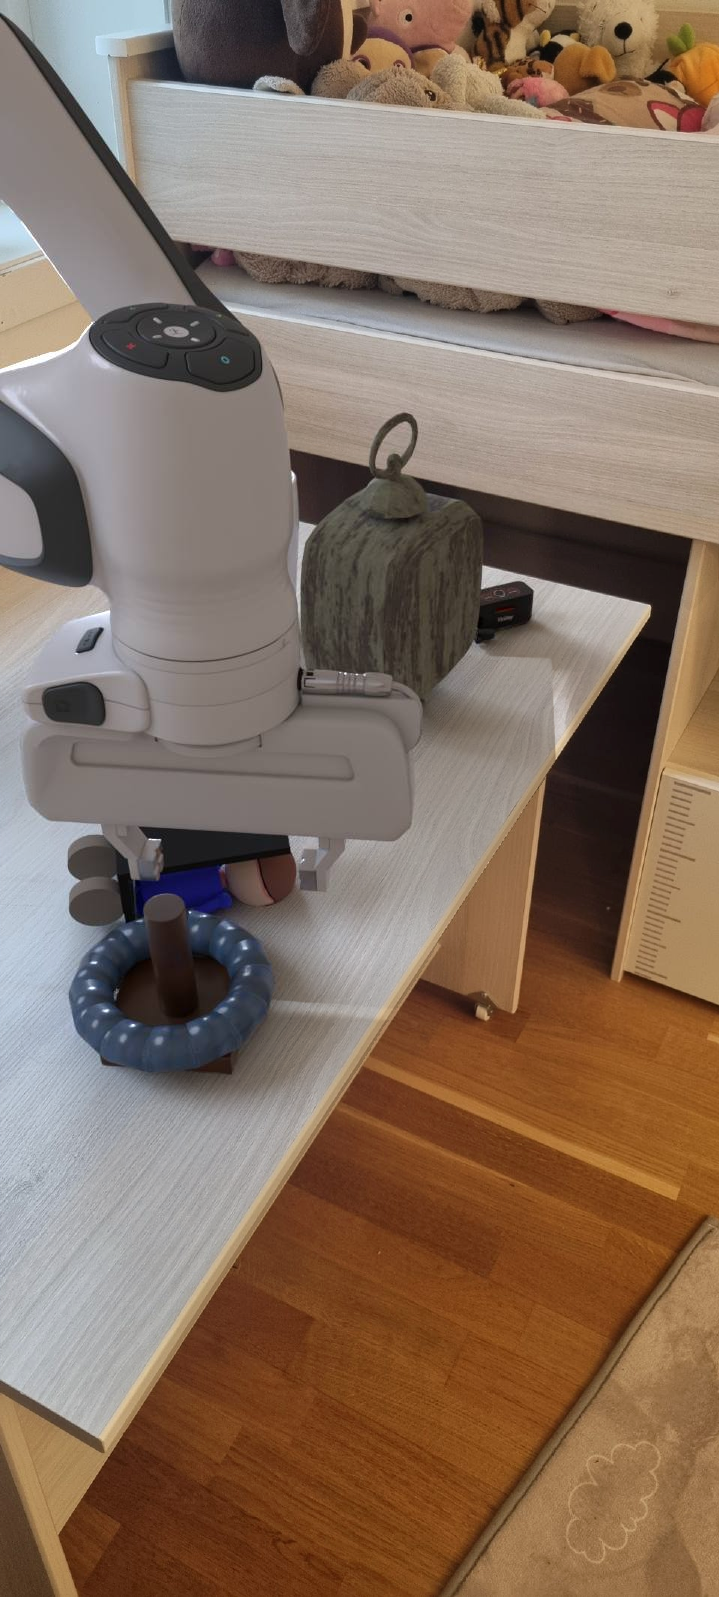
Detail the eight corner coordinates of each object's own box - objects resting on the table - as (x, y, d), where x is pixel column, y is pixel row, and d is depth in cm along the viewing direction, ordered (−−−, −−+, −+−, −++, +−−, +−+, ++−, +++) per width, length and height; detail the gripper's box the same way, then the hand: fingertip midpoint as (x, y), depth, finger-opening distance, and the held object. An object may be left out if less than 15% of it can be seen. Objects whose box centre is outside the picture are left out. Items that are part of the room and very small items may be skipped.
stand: (101, 1065, 72) (76, 952, 66) (134, 968, 78) (114, 857, 72) (232, 1075, 71) (219, 962, 65) (256, 976, 77) (245, 865, 71)
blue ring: (46, 1073, 69) (38, 1044, 68) (106, 924, 79) (100, 895, 77) (254, 1091, 68) (251, 1061, 66) (288, 937, 78) (286, 908, 76)
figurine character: (88, 972, 80) (308, 922, 81) (56, 890, 75) (290, 838, 76) (87, 905, 85) (293, 858, 86) (56, 824, 80) (276, 776, 81)
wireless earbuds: (452, 626, 112) (453, 595, 110) (519, 610, 115) (521, 579, 113) (476, 649, 109) (477, 617, 107) (544, 632, 111) (546, 601, 109)
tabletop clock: (390, 655, 108) (391, 377, 93) (481, 680, 105) (498, 397, 89) (306, 735, 98) (291, 440, 83) (402, 767, 95) (406, 464, 79)
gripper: (427, 642, 60) (421, 853, 68) (29, 624, 61) (72, 831, 70) (419, 713, 55) (413, 931, 63) (-14, 691, 56) (38, 905, 65)
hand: (231, 878), depth 67 cm, fingers open, 8 cm apart
